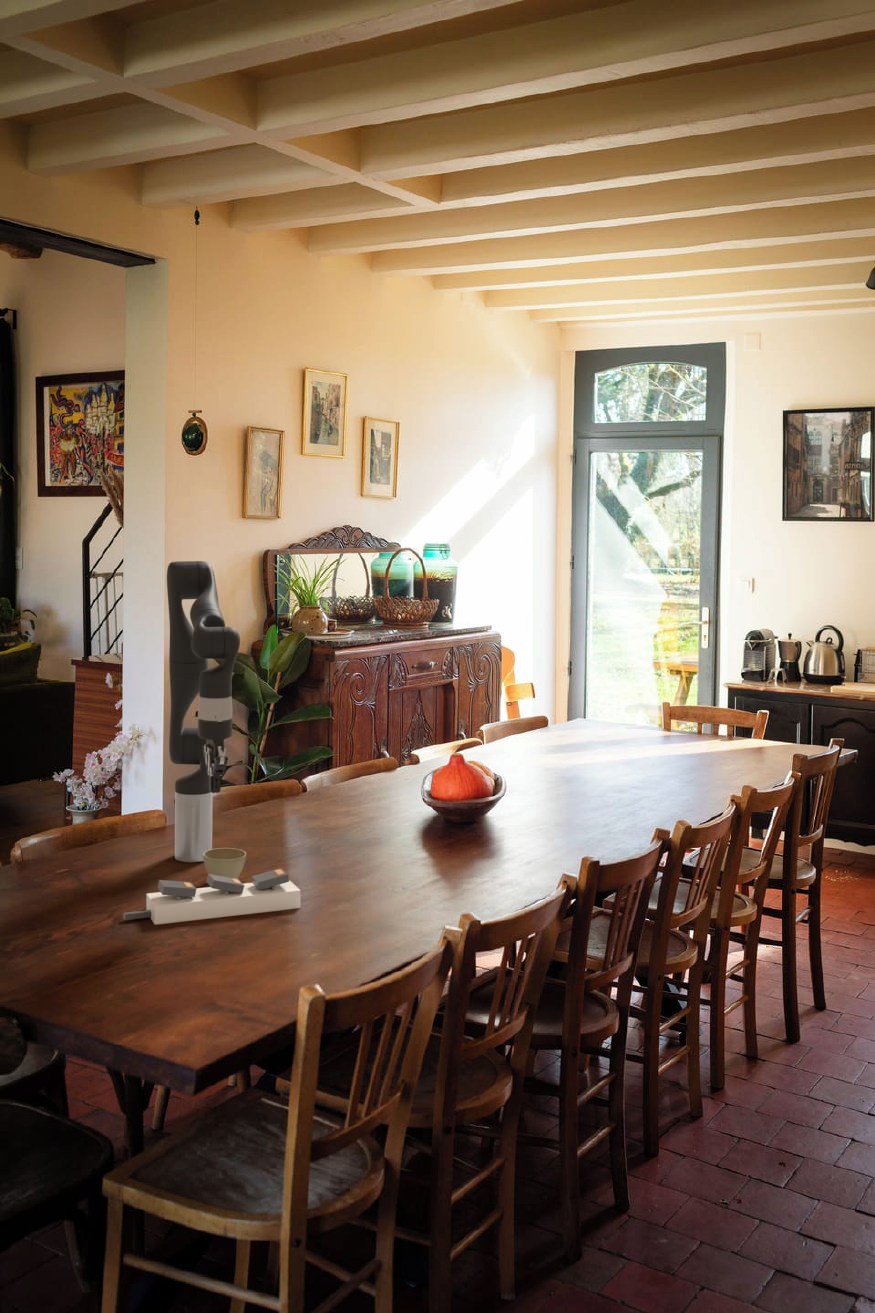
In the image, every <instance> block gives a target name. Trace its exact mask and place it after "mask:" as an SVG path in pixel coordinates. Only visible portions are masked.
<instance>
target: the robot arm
mask: <svg viewBox="0 0 875 1313" xmlns="http://www.w3.org/2000/svg"><path fill="white" fill-rule="evenodd" d="M166 588H167V589H166V590H167V591H166V592H167V604H168V618H169V620H168V621H169V658H168V659H169V660H168V661H169V663H168V664H169V689H170V691H169V692H170V717H169V718H170V720H169V737H168V738H169V739H168V740H169V741H168V743H169V744H168V746H169V747H168V751H169V758H170V761H171V763H172V764H174V765H198V766H199V768H198V769H197V770H196V771H194V772H192V773H190V774H188V775H184V776H181V777H179V778H178V779H176V780H175V783H174V859H175V860H176V861H179V862H183V863H198V862H200V863H201V862H204V858H203V853H204V852H205V851H207V850H210V849H213V794H215V793H220V792H221V777H222V776H225V771H226V769H227V765H228V761H229V757H228V756H227V755H226V752H227V748H226V745H225V742H224V741H225V740H226V739H230V738H231V737H232V736H233V702H232V701H233V700H232V681H233V680H232V679H233V678H232V677H233V672H234V666H235V663H236V660H237V658H238V657H237V656H238V653H239V651H240V645H241V636H240V634H239V632H238V631H237V629H236V628H235V627H233V626H226V622H225V618H224V617H223V613H222V611H221V609H220V605H219V596H218V590H217V583H216V577H215V572H214V569H213V566H212V564H211V563H209V562H208V561H203V560H192V561H190V560H188V561H187V560H185V561H181V560H179V561H171V562H170V563H169V564H168V566H167V571H166ZM183 600H194V601H193V603H192V605H191V608H190V612H189V618H190V622H191V623H190V622H189V619H188V617H187V615H186V613H185V611H184V608H183ZM191 624H192V625H191ZM211 659H220V663H219V664H218V665H217V666H214V667H211V668H209V664H208V660H211ZM197 696H199V697H198V704H197V727H184V720H185V716H187V713H188V711H189V709H190V707H191V705H192V704H193V702H194V700H196V698H197Z"/></svg>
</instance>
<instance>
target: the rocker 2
mask: <svg viewBox="0 0 875 1313" xmlns="http://www.w3.org/2000/svg"><path fill="white" fill-rule="evenodd" d="M205 882H206V883H207V885H208V887H211V888H213V889H219V890H225V891H230V892H236V893H243V889H244V885H243V884H244V883H243V882H241V880H240V879H239V878H238V879H235V878H229V877H224V876H218V875H212V874H208V873H207V877H206V881H205Z"/></svg>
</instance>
